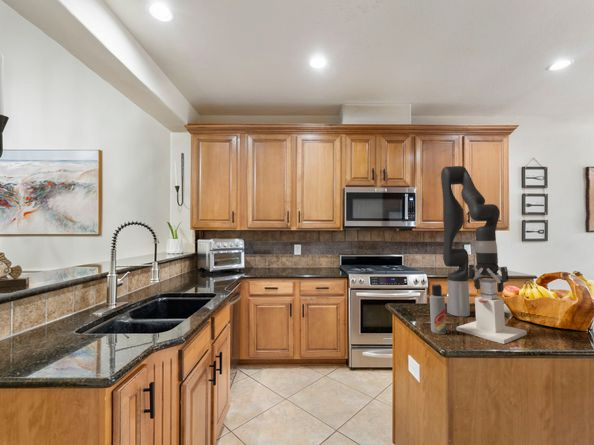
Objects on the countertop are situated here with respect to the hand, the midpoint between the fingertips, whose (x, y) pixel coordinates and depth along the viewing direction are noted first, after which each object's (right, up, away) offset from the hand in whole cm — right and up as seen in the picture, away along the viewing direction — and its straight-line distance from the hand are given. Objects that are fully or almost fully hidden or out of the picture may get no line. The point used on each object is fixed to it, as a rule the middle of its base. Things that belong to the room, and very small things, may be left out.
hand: (488, 290), depth 119 cm
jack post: (0, -15, -1) cm, 15 cm away
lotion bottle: (-20, -18, +1) cm, 27 cm away
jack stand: (0, -17, -1) cm, 17 cm away
